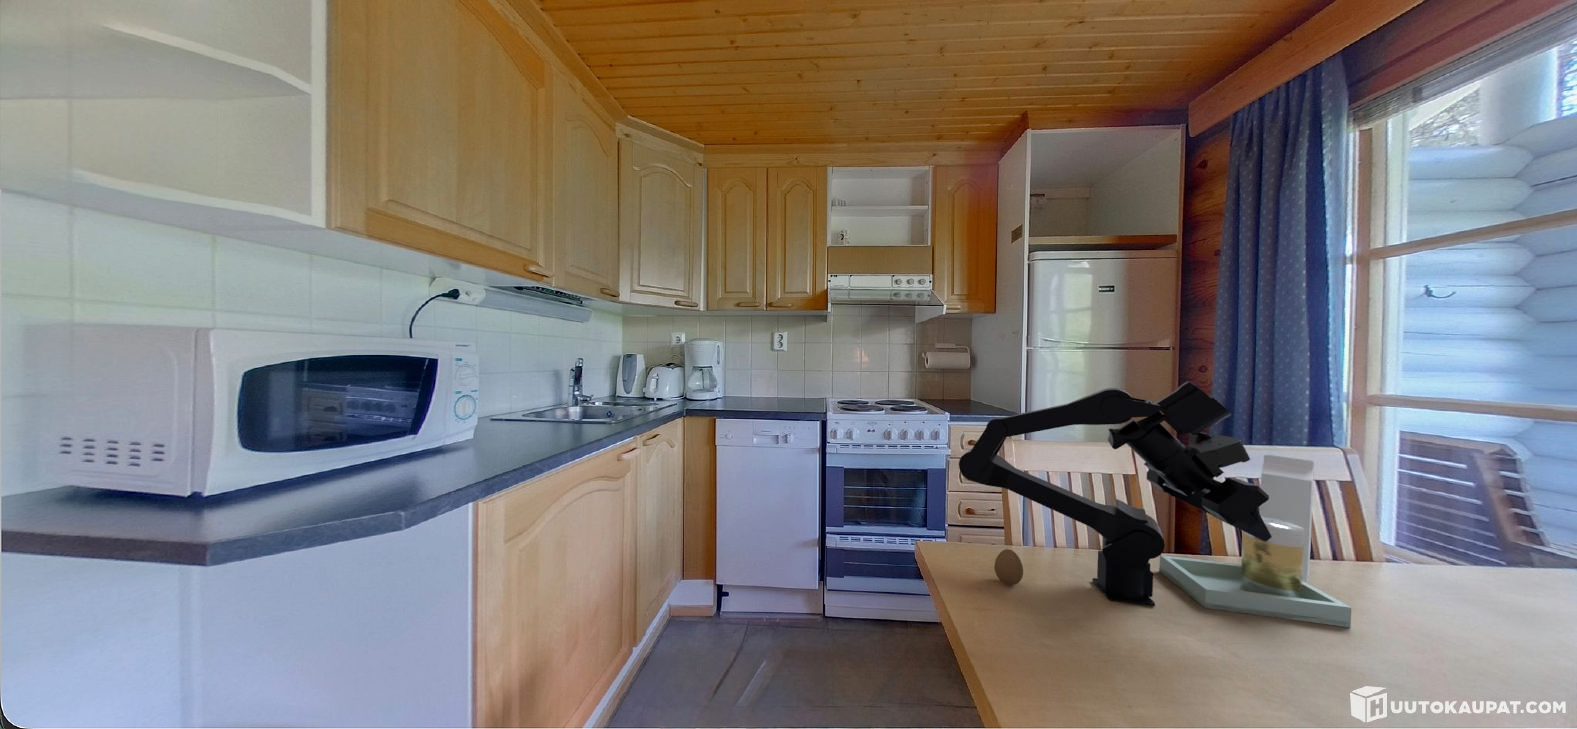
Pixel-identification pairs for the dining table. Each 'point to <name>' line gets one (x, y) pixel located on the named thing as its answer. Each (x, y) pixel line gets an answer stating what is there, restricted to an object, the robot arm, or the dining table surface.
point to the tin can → (1274, 560)
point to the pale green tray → (1250, 593)
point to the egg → (1008, 567)
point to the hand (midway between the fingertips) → (1242, 526)
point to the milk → (1289, 496)
